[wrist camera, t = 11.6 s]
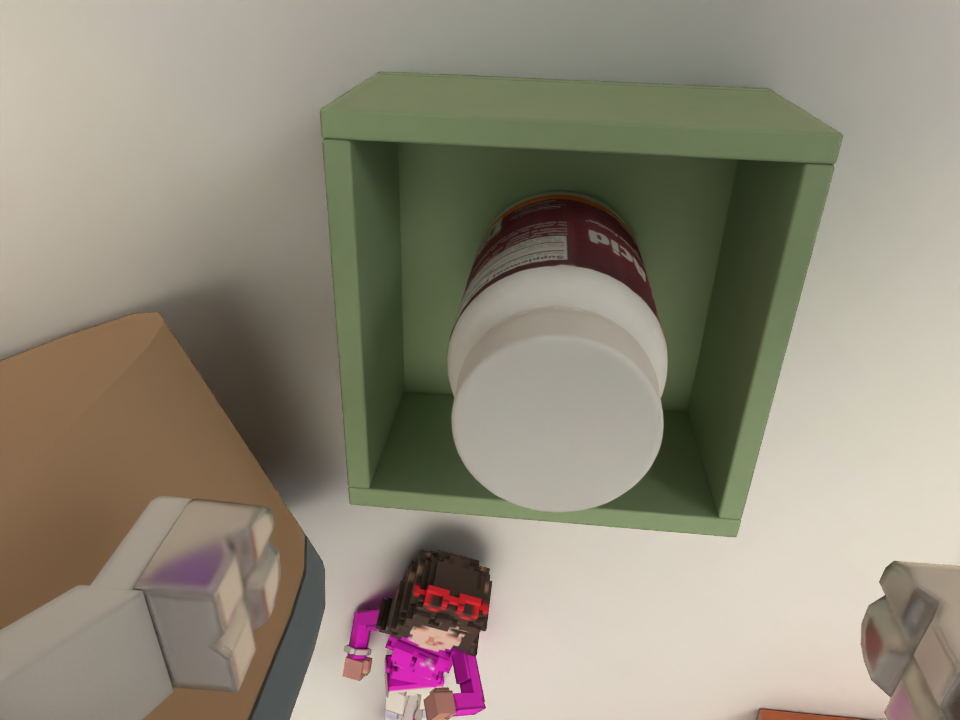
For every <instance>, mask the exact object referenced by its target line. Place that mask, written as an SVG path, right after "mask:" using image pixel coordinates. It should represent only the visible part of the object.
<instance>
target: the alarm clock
mask: <svg viewBox="0 0 960 720" xmlns="http://www.w3.org/2000/svg"><path fill="white" fill-rule="evenodd" d="M160 495H165V496H173V497H182V498H190V499H196V498H198V499H207V500H215V501H224V502H233V503H242V504H251V505H260V506H266V507H268V508H270V509H271V511H272V516H273V521H274V525H275V528H274V530H273V533H272V535H271V537H270V539H269V542H270V543H271V544H272V545H273V546H274V547H275V548H276V549H277V550H278V551H279V555H280V562H281V581H280V585H279V590H278V595H277V600H276V603H275V606H274V608H273V611H272V613H271V616H270V618H269V620H268V621H267V622H265V623H264V624H263V625H261V626H260V627H259V628H257V629H256V630H255V631H254V637H255V642H256V647H257V649H256V651H255V654H254V656H253V658H252V661H251V663H250V665H249V668H248V670H247V672H246V675H245V677H244V679H243V682H242V684H241V686H240V689H239V691H238V693H236V692H223V691H211V690H198V689H185V688H173V690H174V691H173V693H172V694H170V695H169V696H168V697H167V698H166V699H165V700H164V701H163V702H161V703H160V704H159V705H158V706H157V707H156V708H155V709H154V710H152V711H151V712H150V713H149V714H148V715H147V716H146V717H145V718H144V719H142V720H290V717H291V714H292V711H293V708H294V706H295V703H296V700H297V697H298V694H299V691H300V688H301V686H302V683H303V680H304V677H305V674H306V671H307V669H308V666H309V663H310V660H311V657H312V654H313V651H314V648H315V644H316V640H317V636H318V632H319V629H320V625H321V621H322V617H323V613H324V609H325V569H324V565H323V561H322V560H321V558H320V556H319V555H318V553H317V552H316V550H315V549H314V547H313V545H312V544H311V542H310V541H309V539H308V538H307V536H306V535H305V533H304V532H303V530H302V529H301V527H300V526H299V524H298V523H297V521H296V520H295V518H294V517H293V515H292V513H291V512H290V510H289V509H288V507H287V506H286V504H285V503H284V501H283V500H282V498H281V497H280V495H279V494H278V492H277V491H276V489H275V488H274V486H273V485H272V483H271V482H270V480H269V479H268V477H267V476H266V474H265V473H264V471H263V470H262V468H261V466H260V465H259V463H258V462H257V460H256V459H255V457H254V456H253V454H252V453H251V451H250V450H249V448H248V447H247V445H246V444H245V442H244V441H243V439H242V438H241V436H240V435H239V433H238V432H237V430H236V429H235V427H234V426H233V424H232V423H231V421H230V420H229V418H228V416H227V415H226V413H225V412H224V410H223V409H222V407H221V406H220V404H219V403H218V401H217V400H216V398H215V397H214V395H213V394H212V392H211V391H210V389H209V388H208V386H207V385H206V383H205V382H204V380H203V379H202V377H201V376H200V374H199V373H198V371H197V369H196V368H195V366H194V365H193V363H192V362H191V360H190V359H189V357H188V356H187V354H186V353H185V351H184V350H183V348H182V347H181V345H180V344H179V342H178V341H177V339H176V338H175V336H174V335H173V333H172V332H171V330H170V329H169V327H168V326H167V324H166V323H165V321H164V319H163V318H162V316H161V315H160V313H159V312H151V313H137V314H131V315H128V316H125V317H122V318H119V319H116V320H113V321H109V322H106V323H103V324H100V325H97V326H94V327H91V328H88V329H85V330H82V331H79V332H76V333H73V334H70V335H67V336H64V337H61V338H59V339H56V340H54V341H51V342H48V343H46V344H43V345H41V346H38V347H36V348H33V349H30V350H28V351H25V352H23V353H20V354H18V355H15V356H12V357H10V358H7V359H5V360H2V361H0V630H1V629H3V628H5V627H7V626H8V625H10V624H12V623H13V622H15V621H17V620H19V619H20V618H22V617H24V616H26V615H27V614H29V613H31V612H32V611H34V610H36V609H38V608H39V607H41V606H43V605H45V604H46V603H48V602H50V601H52V600H53V599H55V598H57V597H58V596H60V595H62V594H64V593H65V592H67V591H69V590H71V589H72V588H74V587H76V586H78V585H88V586H90V585H91V583H92V582H93V580H94V579H95V578H96V576H97V575H98V573H99V572H100V571H101V569H102V568H103V567H104V565H105V564H106V562H107V561H108V560H109V558H110V557H111V555H112V554H113V553H114V551H115V550H116V549H117V547H118V546H119V544H120V543H121V542H122V540H123V539H124V537H125V536H126V535H127V533H128V532H129V530H130V529H131V528H132V526H133V525H134V524H135V522H136V521H137V519H138V518H139V517H140V515H141V514H142V512H143V511H144V510H145V508H146V507H147V506H148V504H149V503H150V502H151V501H152V500H154V499H155V498H157V497H159V496H160Z"/></svg>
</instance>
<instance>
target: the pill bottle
mask: <svg viewBox="0 0 960 720" xmlns="http://www.w3.org/2000/svg"><path fill="white" fill-rule="evenodd" d="M667 364H668V360H667V346H666V341H665V337H664V333H663V330H662V327H661V324H660V320H659V317H658V313H657V309H656V305H655V301H654V298H653V294H652V289H651V287H650V283H649V281H648V277H647V273H646V270H645V267H644V263H643V260H642V257H641V254H640V250H639V247H638V244H637V241H636V239H635V237H634V235H633V233H632V231H631V230H630V228H629V226H628V225H627V224H626V223H625V221H624V220H623V219H622V218H621V217H620V216H619V215H618V214H617V213H616V212H615V211H614V210H613V209H612V208H611V207H609V206H608V205H606V204H605V203H603V202H601V201H599V200H597V199H595V198H593V197H590V196H587V195H584V194H581V193H575V192H568V191H552V192H544V193H539V194H536V195H532V196H529V197H526V198H524V199H521V200H519V201H518V202H516V203H514V204H512V205H510V206H509V207H507V208H506V209H505V210H504V211H503V212H501V213H500V214H499V215H498V216H497V217H496V218H495V219H494V221H493V222H492V223H491V224H490V226H489V227H488V229H487V230H486V232H485V233H484V235H483V237H482V239H481V242H480V244H479V246H478V249H477V253H476V256H475V259H474V262H473V265H472V269H471V272H470V275H469V278H468V281H467V285H466V289H465V292H464V295H463V298H462V301H461V306H460V309H459V312H458V316H457V319H456V322H455V325H454V328H453V330H452V333H451V336H450V340H449V345H448V352H447V370H448V377H449V381H450V385H451V389H452V392H453V395H454V402H453V407H452V414H451V424H452V434H453V439H454V442H455V446H456V449H457V451H458V454H459V456H460V458H461V460H462V461H463V463H464V465H465V466H466V468H467V469H468V471H469V472H470V473H471V474H472V475H473V477H474V478H475V479H476V480H477V481H478V482H479V483H480V484H482V485H483V486H484V487H485V488H486V489H488V490H489V491H490V492H492V493H493V494H495V495H496V496H498V497H500V498H502V499H504V500H506V501H508V502H510V503H513V504H516V505H518V506H521V507H525V508H529V509H531V510H537V511H545V512H571V511H573V512H574V511H581V510H586V509H589V508H593V507H597V506H600V505H603V504H605V503H608V502H610V501H612V500H614V499H616V498H617V497H619V496H621V495H622V494H624V493H625V492H627V491H628V490H630V489H631V488H632V487H633V486H634V485H636V484H637V483H638V482H639V481H640V480H641V479H642V478H643V476H644V475H645V474H646V473H647V472H648V470H649V469H650V467H651V466H652V464H653V462H654V460H655V458H656V456H657V454H658V452H659V449H660V446H661V442H662V437H663V427H664V424H663V410H662V404H661V399H660V398H661V396H662V394H663V390H664V387H665V383H666V378H667Z"/></svg>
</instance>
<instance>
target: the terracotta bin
mask: <svg viewBox="0 0 960 720" xmlns="http://www.w3.org/2000/svg"><path fill="white" fill-rule="evenodd" d="M757 720H864V719H855V718H845V717H835V716H825V715H815V714H805V713H795V712H785V711H775V710H765V709H760V712H759V715H758V718H757Z"/></svg>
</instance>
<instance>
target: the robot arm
mask: <svg viewBox="0 0 960 720" xmlns="http://www.w3.org/2000/svg"><path fill="white" fill-rule="evenodd" d="M274 528H275V525H274V521H273V516H272V511H271V509H270V508H268V507H266V506H260V505H251V504H242V503H233V502H224V501H215V500H207V499H198V498H196V499H190V498H182V497H173V496H165V495H160V496H159V497H157V498H155V499H154V500H152V501H151V502H150V503H149V504H148V506H147V507H146V508H145V510H144V511H143V512H142V514H141V515H140V517H139V518H138V519H137V521H136V522H135V524H134V525H133V526H132V528H131V529H130V530H129V532H128V533H127V535H126V536H125V537H124V539H123V540H122V542H121V543H120V544H119V546H118V547H117V549H116V550H115V551H114V553H113V554H112V555H111V557H110V558H109V560H108V561H107V562H106V564H105V565H104V567H103V568H102V569H101V571H100V572H99V573H98V575H97V576H96V578H95V579H94V580H93V582H92V583H91V585H90V586H88V585H78V586H76V587H74V588H72V589H71V590H69V591H67V592H65V593H64V594H62V595H60V596H58V597H57V598H55V599H53V600H52V601H50V602H48V603H46V604H45V605H43V606H41V607H39V608H38V609H36V610H34V611H32V612H31V613H29V614H27V615H26V616H24V617H22V618H20V619H19V620H17V621H15V622H13V623H12V624H10V625H8V626H7V627H5V628H3V629H1V630H0V720H142V719H144V718H145V717H146V716H147V715H148V714H149V713H150V712H151V711H152V710H154V709H155V708H156V707H157V706H158V705H159V704H160V703H161V702H163V701H164V700H165V699H166V698H167V697H168V696H169V695H170V694H172V693H173V691H174V690H173V688H185V689H198V690H211V691H223V692H236V693H238V691H239V689H240V686H241V684H242V682H243V679H244V677H245V675H246V672H247V670H248V668H249V665H250V663H251V661H252V658H253V656H254V654H255V651H256V649H257V647H256V642H255V637H254V631H255V630H256V629H257V628H259V627H260V626H261V625H263V624H264V623H265V622H267V621H268V620H269V618H270V616H271V613H272V611H273V608H274V606H275V603H276V600H277V595H278V590H279V585H280V581H281V562H280V555H279V551H278V550H277V549H276V548H275V547H274V546H273V545H272V544H271V543H270V542H269V539H270V537H271V535H272V533H273V530H274ZM879 583H880V585H881V587H882V589H883V591H884V593H885V596H883V597H882V598H880V599H878V600H877V601H875V602H874V603H872V604H870V605H869V606H868V608H867V611H866V614H865V616H864V619H863V621H862V626H861V648H862V653H863V658H864V662H865V665H866V667H867V670H868V673H869V675H870V678H871V680H872V681H873V682H874V683H875V684H876V685H878V686H879V687H880V688H881V689H882V690H883V691H884V692H885V693H886V694H887V695H889V696H890V697H891V698H890V701H889V703H888V705H887V708H886V710H885V715H886V717H887V720H960V566H953V565H940V564H928V563H915V562H902V561H893V562H892V563H891V564H890V565H888V566H887V567H886V568H885V570H884V572H883V574H882V577H881V579H880V581H879Z"/></svg>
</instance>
